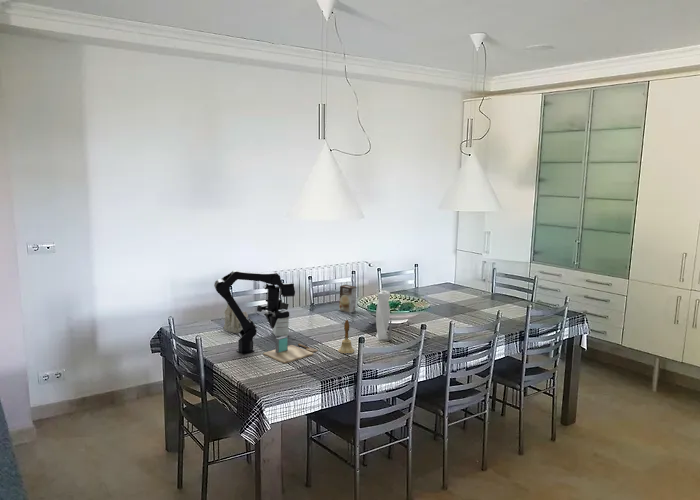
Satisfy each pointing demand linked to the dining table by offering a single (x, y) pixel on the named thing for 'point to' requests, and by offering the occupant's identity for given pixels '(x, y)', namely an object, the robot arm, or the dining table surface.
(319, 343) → the dining table surface
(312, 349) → the turner
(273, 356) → the board
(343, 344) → the hand bell
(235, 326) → the beige sack
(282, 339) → the block
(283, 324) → the supplement box
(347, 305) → the coffee box
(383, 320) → the white bottle
